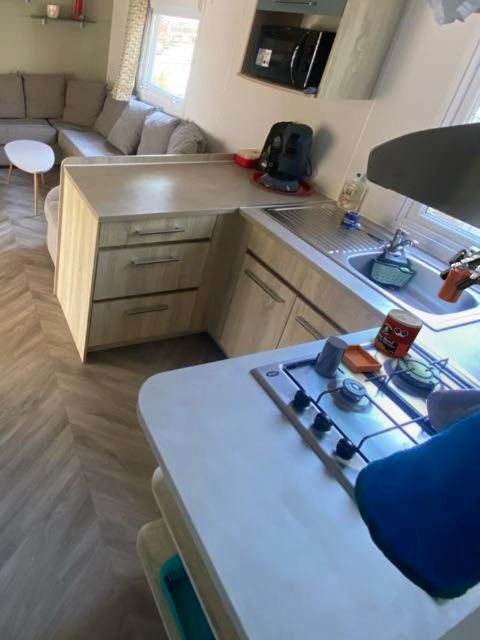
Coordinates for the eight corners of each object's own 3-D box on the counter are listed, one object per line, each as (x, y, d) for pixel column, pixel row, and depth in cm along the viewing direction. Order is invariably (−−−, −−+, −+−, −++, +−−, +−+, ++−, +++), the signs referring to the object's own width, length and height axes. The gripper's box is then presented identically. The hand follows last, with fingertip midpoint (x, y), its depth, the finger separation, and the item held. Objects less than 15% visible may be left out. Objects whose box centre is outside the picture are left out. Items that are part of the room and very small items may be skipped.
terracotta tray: (379, 371, 108) (382, 365, 108) (353, 372, 107) (356, 366, 106) (356, 349, 115) (359, 344, 115) (332, 350, 114) (334, 344, 113)
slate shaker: (338, 377, 104) (352, 348, 100) (322, 377, 103) (336, 349, 99) (326, 363, 108) (339, 335, 104) (310, 364, 107) (323, 336, 103)
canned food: (367, 339, 121) (383, 307, 117) (392, 340, 122) (408, 309, 118) (385, 357, 114) (403, 325, 110) (412, 359, 115) (430, 327, 111)
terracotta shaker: (460, 303, 117) (476, 275, 114) (447, 303, 116) (463, 275, 113) (445, 294, 121) (460, 267, 118) (432, 293, 120) (447, 266, 117)
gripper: (483, 227, 118) (424, 260, 122) (534, 251, 105) (466, 288, 109) (490, 246, 121) (432, 278, 124) (540, 272, 108) (475, 306, 111)
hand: (449, 282), depth 116 cm, fingers closed on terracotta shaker, 4 cm apart
